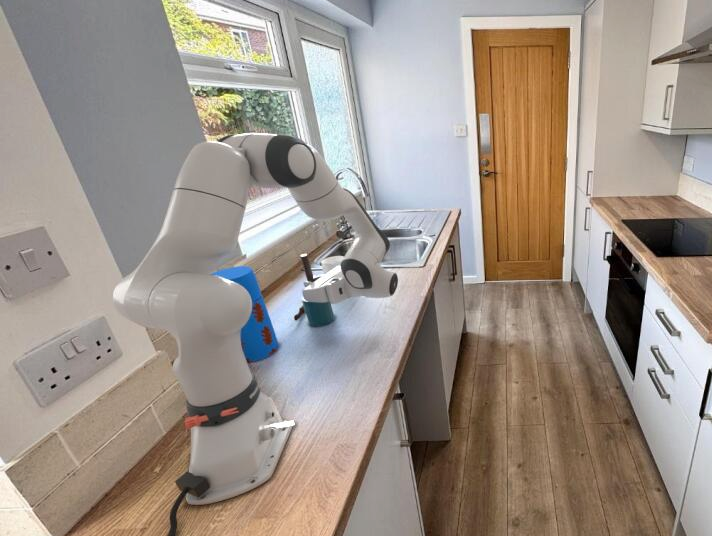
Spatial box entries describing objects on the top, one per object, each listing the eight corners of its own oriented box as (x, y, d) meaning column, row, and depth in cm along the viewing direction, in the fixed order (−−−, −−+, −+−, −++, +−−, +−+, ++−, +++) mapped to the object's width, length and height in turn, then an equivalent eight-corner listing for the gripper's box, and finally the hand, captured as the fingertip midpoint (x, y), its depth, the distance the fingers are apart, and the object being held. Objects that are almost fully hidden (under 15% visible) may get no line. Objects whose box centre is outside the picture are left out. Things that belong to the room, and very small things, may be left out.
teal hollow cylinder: (334, 323, 132) (327, 298, 129) (308, 328, 130) (301, 303, 126) (334, 312, 139) (328, 289, 135) (309, 317, 137) (302, 294, 133)
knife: (308, 300, 149) (306, 293, 148) (313, 299, 149) (311, 292, 148) (294, 324, 133) (291, 316, 132) (299, 324, 133) (296, 316, 132)
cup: (343, 282, 163) (337, 254, 158) (357, 286, 158) (350, 258, 153) (323, 290, 157) (315, 261, 152) (336, 295, 152) (329, 265, 147)
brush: (326, 318, 133) (309, 255, 124) (315, 320, 132) (297, 257, 123) (327, 313, 136) (309, 252, 127) (316, 315, 135) (298, 254, 126)
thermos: (260, 363, 113) (229, 282, 102) (228, 360, 115) (195, 280, 105) (287, 342, 123) (261, 266, 112) (257, 340, 125) (229, 265, 114)
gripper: (362, 261, 134) (325, 260, 137) (326, 287, 116) (284, 285, 118) (366, 278, 137) (329, 277, 139) (331, 306, 119) (290, 304, 121)
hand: (308, 281), depth 129 cm, fingers closed on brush, 2 cm apart
